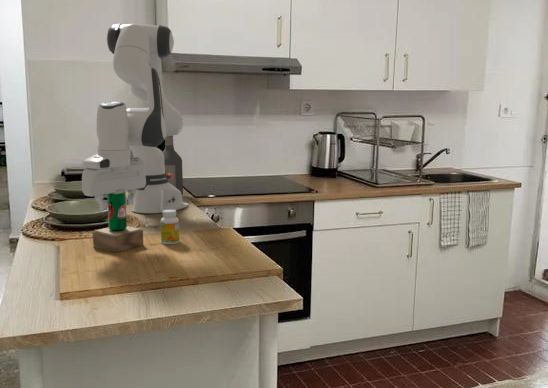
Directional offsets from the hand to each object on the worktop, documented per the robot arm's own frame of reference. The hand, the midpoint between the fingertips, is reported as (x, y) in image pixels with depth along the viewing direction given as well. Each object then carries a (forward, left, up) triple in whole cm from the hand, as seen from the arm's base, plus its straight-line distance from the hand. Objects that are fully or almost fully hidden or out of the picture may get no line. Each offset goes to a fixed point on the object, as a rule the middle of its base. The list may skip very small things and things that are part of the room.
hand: (116, 207), depth 160 cm
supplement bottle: (-12, +9, -12) cm, 19 cm away
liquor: (-68, -48, -12) cm, 84 cm away
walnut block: (0, 0, -12) cm, 12 cm away
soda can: (0, 0, -7) cm, 7 cm away
